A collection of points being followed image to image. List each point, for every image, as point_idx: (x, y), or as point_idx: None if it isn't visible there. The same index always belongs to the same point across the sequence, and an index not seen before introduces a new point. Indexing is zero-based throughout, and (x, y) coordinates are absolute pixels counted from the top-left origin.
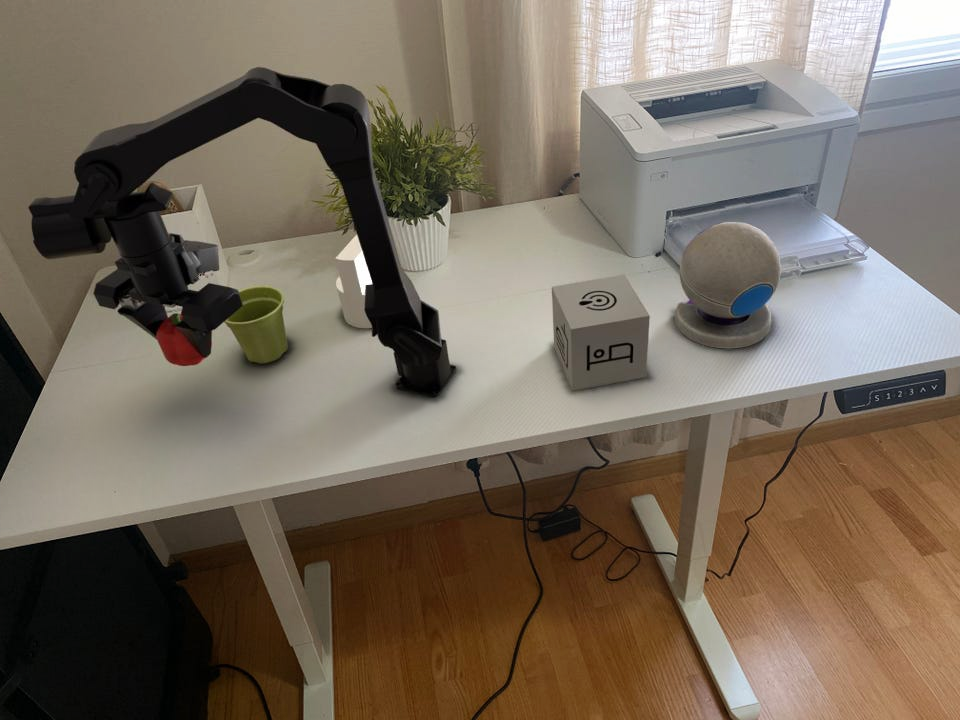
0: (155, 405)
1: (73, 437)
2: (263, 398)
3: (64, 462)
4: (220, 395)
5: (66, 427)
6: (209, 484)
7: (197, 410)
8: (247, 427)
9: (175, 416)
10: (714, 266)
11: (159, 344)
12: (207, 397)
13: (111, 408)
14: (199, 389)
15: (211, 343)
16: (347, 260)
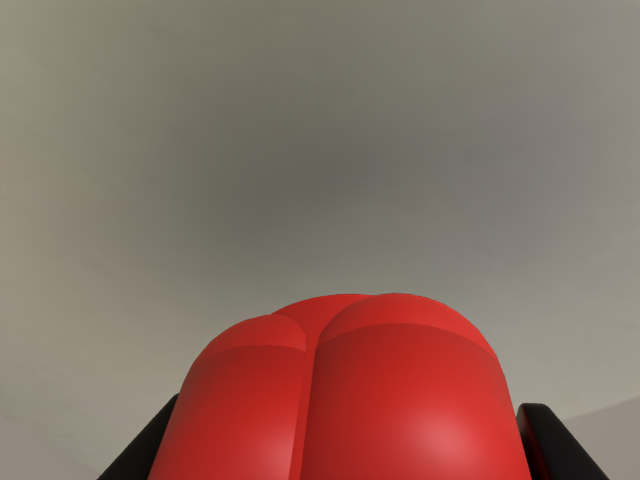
0: (137, 220)
1: (63, 371)
2: (561, 28)
3: (138, 421)
4: (333, 88)
5: (3, 354)
6: (574, 388)
7: (309, 190)
8: (577, 198)
9: (256, 237)
10: None
11: None
12: (287, 119)
13: (22, 273)
14: (210, 91)
15: (496, 357)
16: None
